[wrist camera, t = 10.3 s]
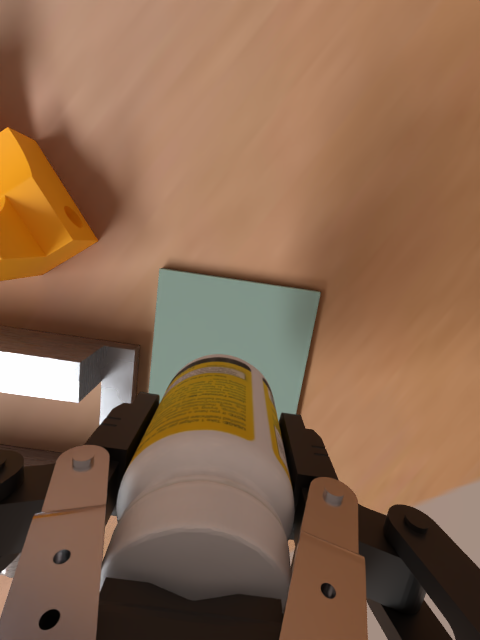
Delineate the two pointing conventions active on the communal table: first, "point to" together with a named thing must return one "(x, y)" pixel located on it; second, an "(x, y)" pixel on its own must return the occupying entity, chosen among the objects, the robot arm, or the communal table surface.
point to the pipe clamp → (35, 212)
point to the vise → (64, 377)
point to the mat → (233, 329)
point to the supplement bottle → (208, 490)
